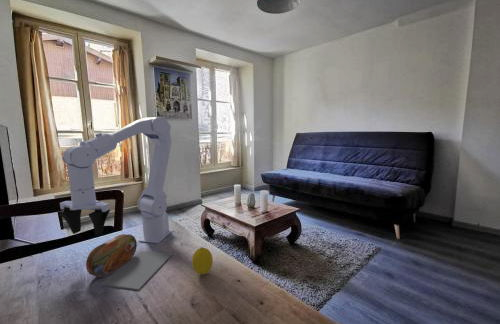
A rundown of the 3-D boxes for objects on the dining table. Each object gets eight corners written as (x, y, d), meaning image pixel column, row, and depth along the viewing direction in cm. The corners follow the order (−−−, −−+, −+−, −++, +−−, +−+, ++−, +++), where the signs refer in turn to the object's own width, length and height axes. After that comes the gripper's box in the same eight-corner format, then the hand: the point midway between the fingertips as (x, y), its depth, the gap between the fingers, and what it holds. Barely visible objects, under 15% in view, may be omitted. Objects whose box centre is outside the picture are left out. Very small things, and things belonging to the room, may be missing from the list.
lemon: (188, 274, 66) (187, 248, 65) (205, 266, 71) (204, 240, 69) (200, 283, 63) (199, 255, 62) (217, 274, 67) (216, 247, 66)
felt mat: (141, 251, 79) (141, 250, 79) (172, 254, 77) (172, 253, 77) (100, 285, 62) (100, 284, 62) (138, 290, 60) (138, 289, 60)
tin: (94, 284, 63) (90, 254, 62) (85, 281, 64) (82, 252, 63) (138, 255, 77) (136, 230, 76) (131, 253, 78) (128, 228, 77)
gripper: (47, 191, 66) (53, 237, 68) (93, 193, 63) (99, 241, 65) (70, 184, 72) (75, 227, 75) (113, 186, 70) (117, 230, 72)
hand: (87, 233), depth 70 cm, fingers open, 7 cm apart
